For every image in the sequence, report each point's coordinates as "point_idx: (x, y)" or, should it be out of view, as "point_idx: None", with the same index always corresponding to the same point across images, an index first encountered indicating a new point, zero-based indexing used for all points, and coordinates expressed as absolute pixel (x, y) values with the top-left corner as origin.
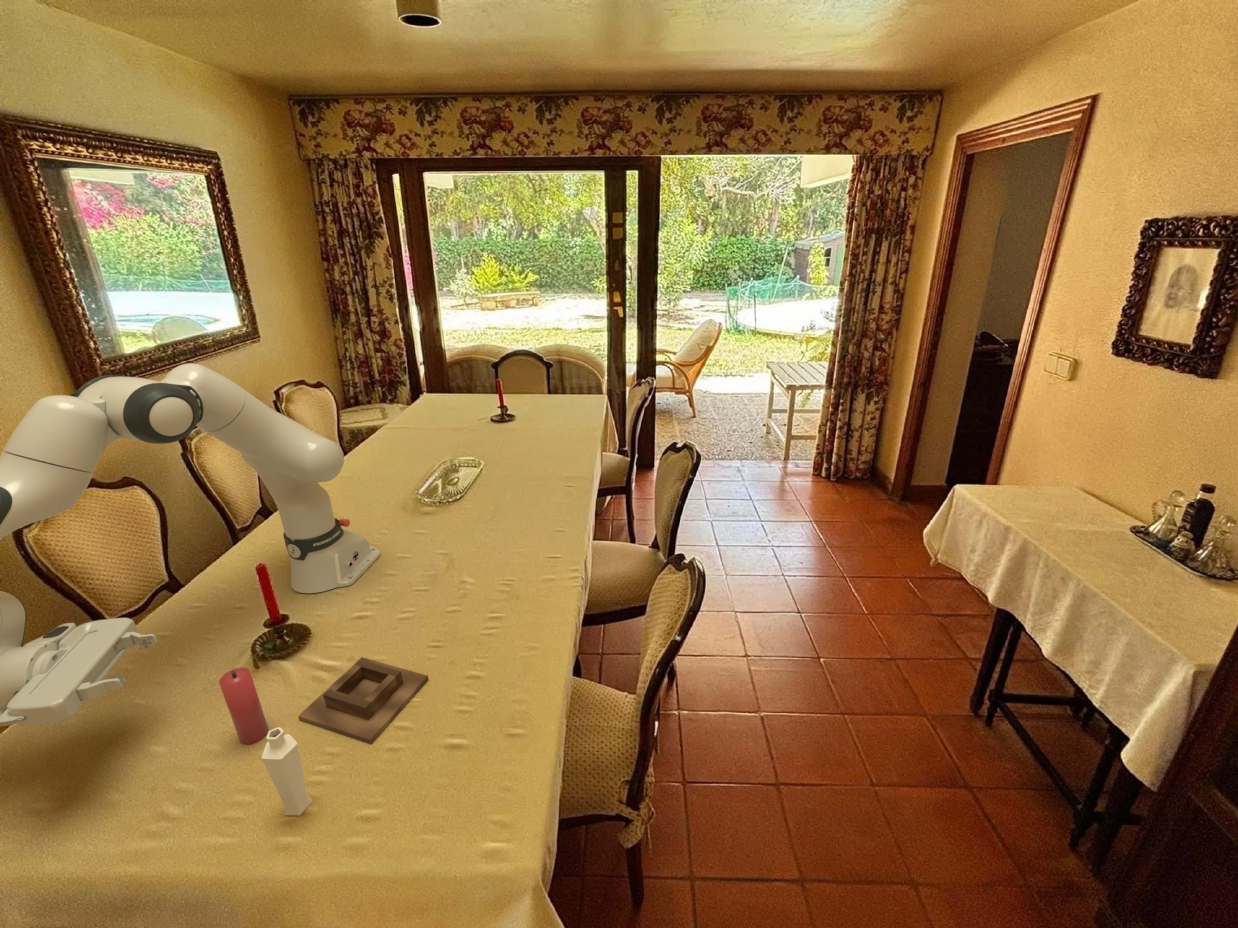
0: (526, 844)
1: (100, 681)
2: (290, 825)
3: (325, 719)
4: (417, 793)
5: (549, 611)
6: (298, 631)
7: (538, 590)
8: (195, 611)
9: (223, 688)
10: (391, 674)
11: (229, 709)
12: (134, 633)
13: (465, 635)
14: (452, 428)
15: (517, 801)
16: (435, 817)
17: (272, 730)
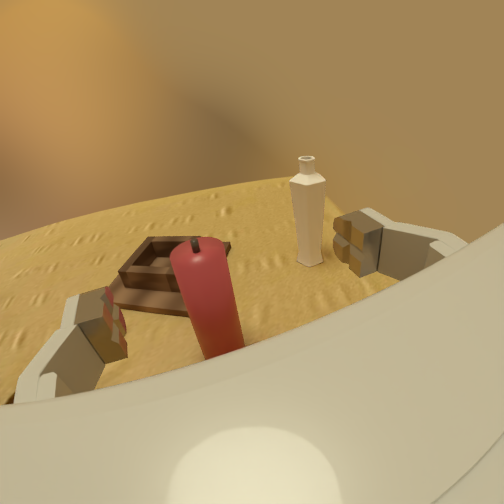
0: (290, 177)
1: (402, 230)
2: (329, 253)
3: None
4: (274, 211)
5: (89, 219)
6: None
7: (60, 231)
8: None
9: (224, 256)
10: (151, 240)
11: (231, 306)
12: (35, 365)
13: (94, 247)
14: None
15: (266, 184)
16: (288, 200)
17: (303, 160)
